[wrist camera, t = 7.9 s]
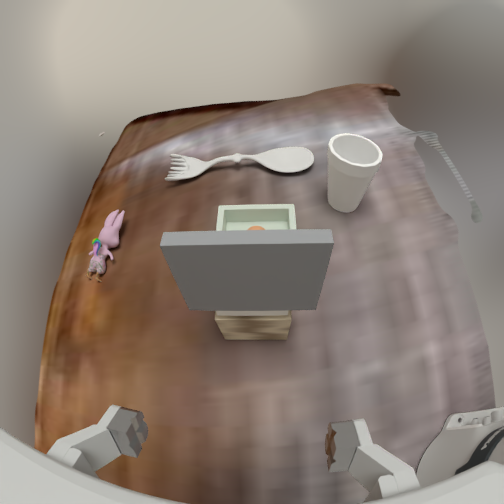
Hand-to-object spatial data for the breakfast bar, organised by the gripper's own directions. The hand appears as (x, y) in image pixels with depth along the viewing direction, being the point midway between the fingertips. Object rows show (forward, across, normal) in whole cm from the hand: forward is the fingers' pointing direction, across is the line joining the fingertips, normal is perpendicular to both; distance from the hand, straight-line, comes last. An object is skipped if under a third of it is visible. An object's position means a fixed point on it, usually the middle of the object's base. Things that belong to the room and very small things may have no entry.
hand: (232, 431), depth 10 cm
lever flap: (+25, +1, +1) cm, 25 cm away
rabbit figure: (+40, +30, 0) cm, 49 cm away
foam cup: (+48, -16, -8) cm, 51 cm away
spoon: (+55, +5, -15) cm, 57 cm away
